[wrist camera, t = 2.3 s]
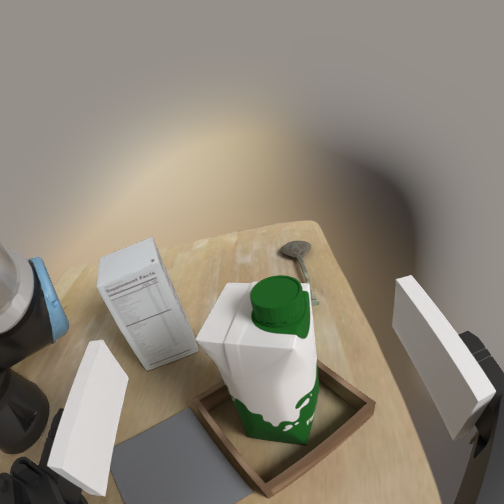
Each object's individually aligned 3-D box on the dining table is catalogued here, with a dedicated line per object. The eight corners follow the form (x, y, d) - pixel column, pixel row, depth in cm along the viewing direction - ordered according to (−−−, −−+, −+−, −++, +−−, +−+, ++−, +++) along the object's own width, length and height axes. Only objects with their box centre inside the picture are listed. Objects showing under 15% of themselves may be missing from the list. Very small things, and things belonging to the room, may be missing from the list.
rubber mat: (104, 452, 32) (103, 451, 32) (190, 408, 38) (189, 406, 38) (147, 545, 20) (146, 545, 20) (253, 492, 26) (252, 491, 26)
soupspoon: (308, 244, 70) (280, 251, 71) (306, 231, 69) (277, 238, 69) (333, 303, 51) (294, 313, 51) (331, 287, 49) (291, 297, 50)
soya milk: (312, 452, 29) (296, 334, 19) (236, 441, 32) (173, 324, 22) (325, 391, 36) (314, 258, 26) (257, 385, 39) (216, 259, 29)
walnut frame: (199, 411, 37) (191, 399, 36) (291, 352, 43) (289, 337, 42) (268, 498, 25) (263, 492, 24) (373, 414, 31) (375, 402, 30)
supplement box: (188, 318, 54) (154, 234, 46) (201, 351, 47) (162, 260, 38) (139, 336, 52) (98, 256, 44) (145, 372, 44) (94, 286, 36)
